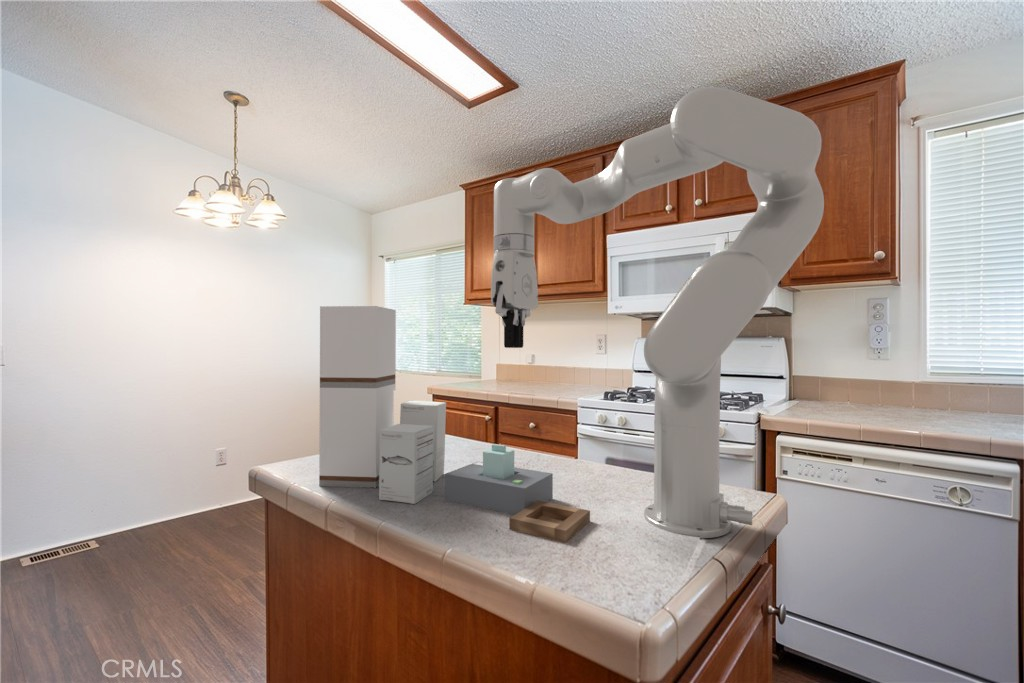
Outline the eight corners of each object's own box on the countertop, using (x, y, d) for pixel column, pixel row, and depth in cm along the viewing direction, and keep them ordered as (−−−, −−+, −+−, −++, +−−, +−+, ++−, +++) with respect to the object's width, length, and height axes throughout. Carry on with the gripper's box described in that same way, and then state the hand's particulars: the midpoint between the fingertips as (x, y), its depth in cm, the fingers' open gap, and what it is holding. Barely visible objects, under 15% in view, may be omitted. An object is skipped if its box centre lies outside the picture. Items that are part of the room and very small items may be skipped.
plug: (514, 495, 83) (514, 444, 83) (502, 501, 79) (502, 448, 79) (494, 491, 85) (495, 441, 85) (482, 498, 81) (483, 446, 81)
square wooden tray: (589, 525, 72) (590, 510, 72) (565, 546, 64) (565, 530, 64) (537, 513, 76) (537, 500, 76) (509, 533, 69) (509, 518, 69)
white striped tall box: (395, 472, 100) (395, 310, 101) (375, 487, 90) (376, 306, 90) (344, 471, 102) (344, 310, 102) (319, 486, 91) (320, 306, 91)
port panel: (552, 501, 82) (552, 471, 82) (524, 520, 74) (524, 486, 74) (477, 487, 90) (477, 459, 90) (444, 502, 82) (445, 472, 82)
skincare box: (397, 480, 95) (397, 403, 95) (408, 471, 101) (409, 399, 101) (437, 482, 94) (437, 404, 94) (446, 473, 100) (446, 400, 100)
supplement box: (377, 501, 83) (377, 429, 83) (399, 488, 90) (399, 422, 90) (414, 505, 80) (415, 431, 80) (434, 492, 87) (434, 424, 87)
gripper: (510, 238, 78) (510, 348, 78) (550, 253, 91) (549, 347, 91) (473, 243, 82) (473, 347, 82) (516, 256, 95) (516, 347, 95)
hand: (513, 347), depth 86 cm, fingers closed
